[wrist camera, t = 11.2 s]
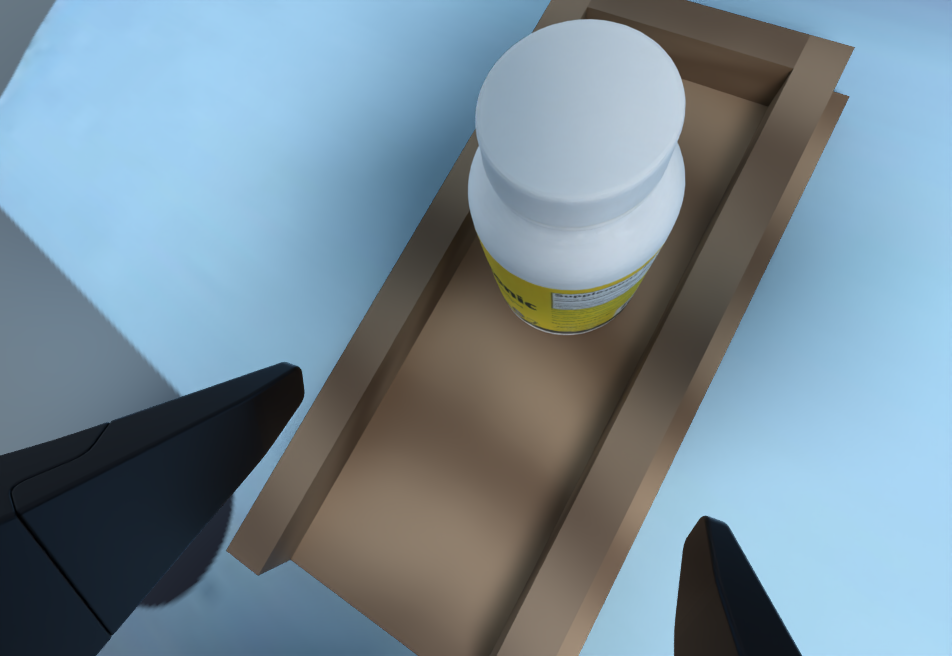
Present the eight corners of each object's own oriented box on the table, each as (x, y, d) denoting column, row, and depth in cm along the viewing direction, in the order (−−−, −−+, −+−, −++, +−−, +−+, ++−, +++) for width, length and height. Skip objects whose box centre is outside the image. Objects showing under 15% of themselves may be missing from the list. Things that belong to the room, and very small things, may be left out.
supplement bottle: (483, 231, 19) (415, 37, 10) (611, 192, 19) (672, -54, 9) (517, 355, 18) (477, 271, 8) (656, 317, 17) (782, 179, 8)
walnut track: (536, 728, 16) (532, 790, 13) (255, 519, 19) (205, 534, 16) (837, 110, 19) (885, 55, 16) (549, 19, 22) (548, -39, 19)
